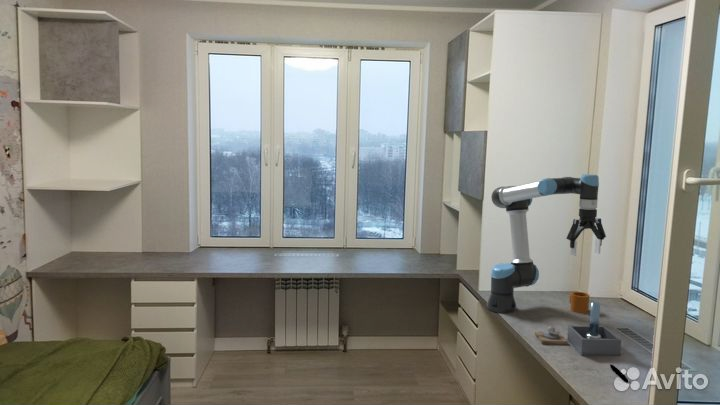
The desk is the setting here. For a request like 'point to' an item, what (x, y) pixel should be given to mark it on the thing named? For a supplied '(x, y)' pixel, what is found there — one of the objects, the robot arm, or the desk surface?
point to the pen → (619, 373)
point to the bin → (594, 342)
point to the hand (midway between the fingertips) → (585, 253)
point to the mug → (579, 302)
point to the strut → (594, 322)
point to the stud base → (551, 337)
